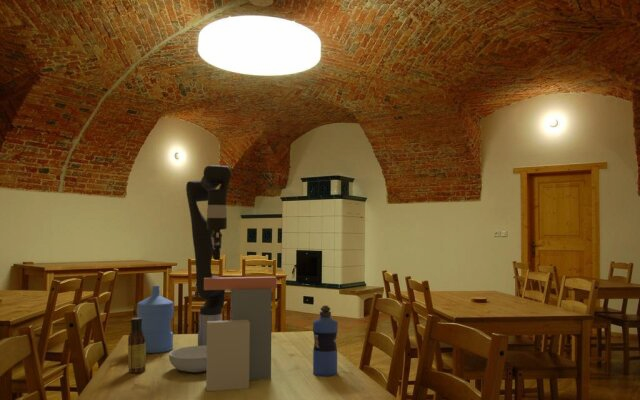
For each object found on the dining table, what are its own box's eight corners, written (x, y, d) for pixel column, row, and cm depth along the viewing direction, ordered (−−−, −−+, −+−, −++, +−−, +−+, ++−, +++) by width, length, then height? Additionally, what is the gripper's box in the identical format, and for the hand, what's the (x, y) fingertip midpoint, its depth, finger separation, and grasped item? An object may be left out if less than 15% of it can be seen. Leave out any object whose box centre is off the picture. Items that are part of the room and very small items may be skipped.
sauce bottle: (149, 370, 205) (150, 317, 206) (138, 374, 200) (139, 320, 201) (134, 368, 208) (135, 316, 209) (123, 372, 202) (124, 319, 203)
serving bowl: (177, 362, 218) (178, 345, 218) (229, 363, 217) (229, 345, 217) (160, 376, 197) (161, 357, 197) (217, 377, 196) (218, 358, 197)
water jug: (153, 355, 229) (154, 289, 230) (128, 351, 237) (129, 286, 238) (180, 348, 242) (181, 285, 243) (156, 344, 250) (157, 283, 252)
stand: (206, 391, 179) (208, 294, 181) (205, 376, 197) (206, 288, 199) (275, 386, 185) (276, 292, 187) (267, 372, 202) (268, 286, 204)
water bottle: (334, 369, 207) (334, 303, 209) (340, 376, 198) (340, 307, 200) (310, 370, 205) (310, 304, 207) (315, 377, 196) (315, 308, 198)
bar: (204, 290, 192) (204, 278, 193) (203, 288, 196) (203, 277, 197) (276, 288, 199) (276, 277, 199) (274, 287, 203) (274, 276, 203)
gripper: (228, 216, 202) (227, 260, 202) (225, 217, 216) (224, 258, 215) (207, 216, 201) (207, 260, 200) (206, 217, 214) (205, 258, 214)
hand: (216, 259), depth 208 cm, fingers open, 8 cm apart
